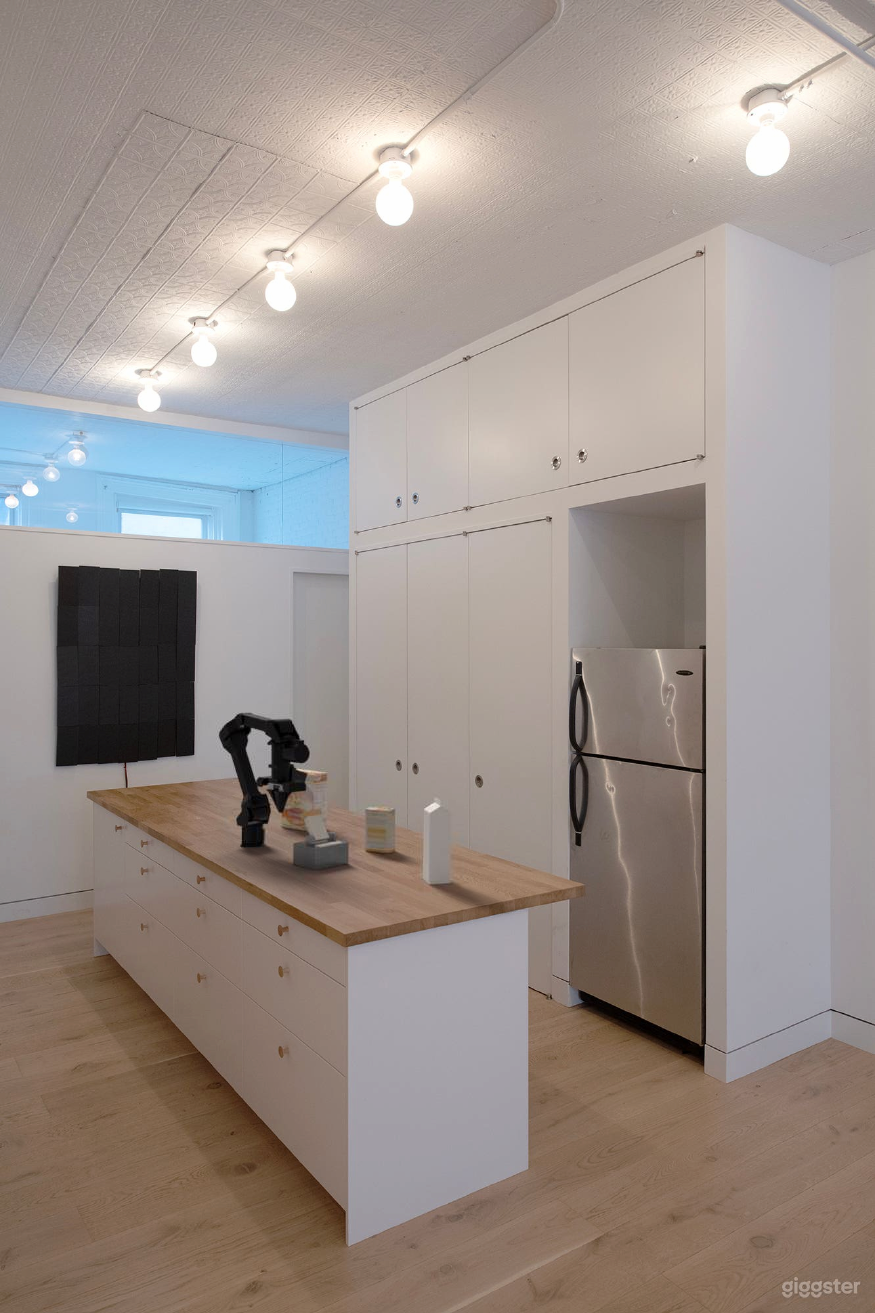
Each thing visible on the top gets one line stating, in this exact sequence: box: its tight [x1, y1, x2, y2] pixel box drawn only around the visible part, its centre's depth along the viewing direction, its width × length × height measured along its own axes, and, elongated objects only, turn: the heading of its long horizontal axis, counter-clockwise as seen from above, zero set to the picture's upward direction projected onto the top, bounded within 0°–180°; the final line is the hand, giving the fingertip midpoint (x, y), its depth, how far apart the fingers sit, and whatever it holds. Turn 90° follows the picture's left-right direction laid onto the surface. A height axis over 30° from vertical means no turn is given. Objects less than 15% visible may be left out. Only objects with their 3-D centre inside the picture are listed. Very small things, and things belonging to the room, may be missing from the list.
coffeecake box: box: [280, 768, 328, 832], centre depth 302 cm, size 15×7×20 cm, turn 55°
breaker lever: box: [300, 809, 329, 842], centre depth 254 cm, size 2×6×9 cm
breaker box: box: [292, 831, 350, 871], centre depth 252 cm, size 10×12×8 cm
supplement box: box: [364, 806, 396, 854], centre depth 269 cm, size 8×5×13 cm, turn 65°
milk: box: [422, 796, 452, 886], centre depth 235 cm, size 6×6×22 cm
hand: (280, 812), depth 266 cm, fingers closed
